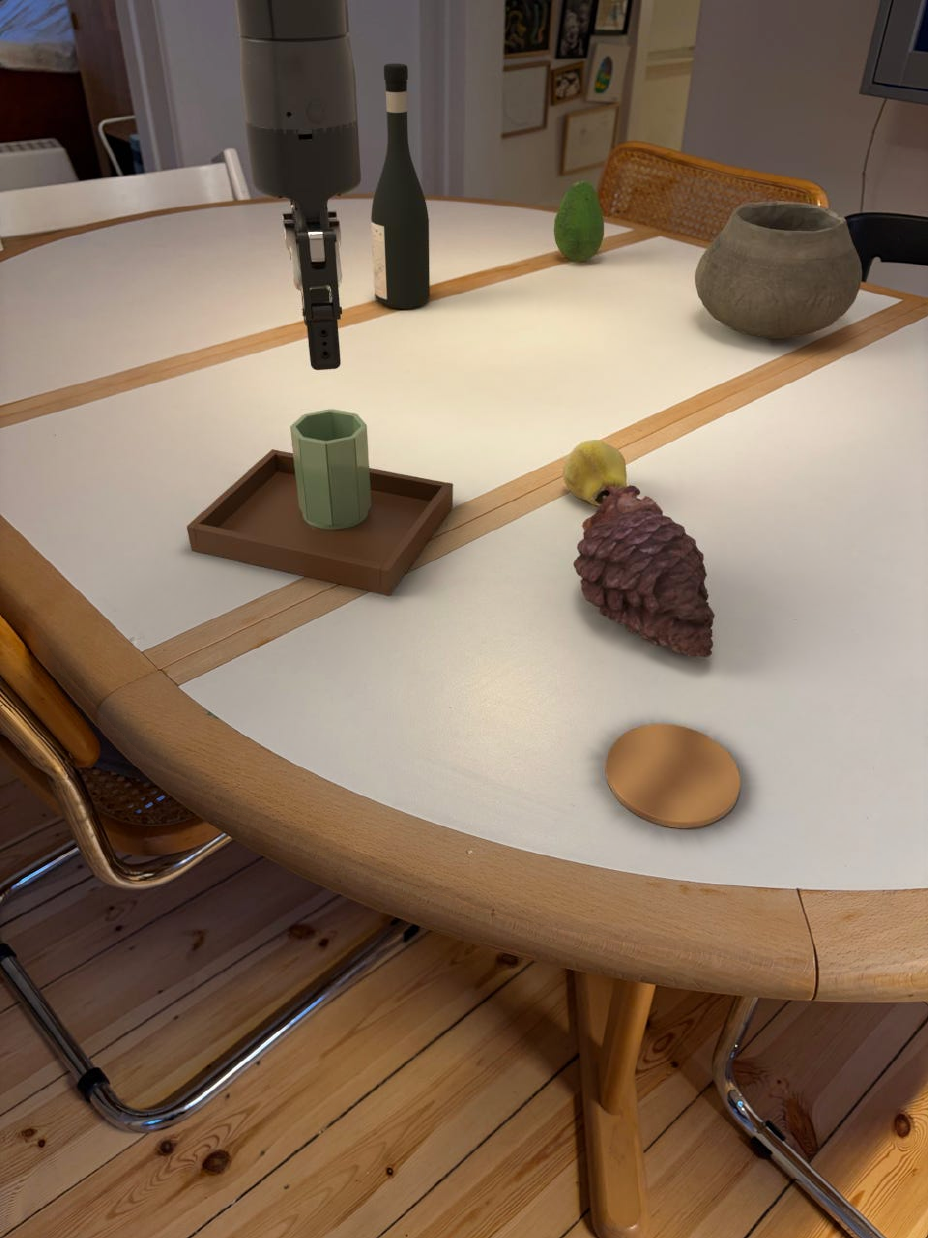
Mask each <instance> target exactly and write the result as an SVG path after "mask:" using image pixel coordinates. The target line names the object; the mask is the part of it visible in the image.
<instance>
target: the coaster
mask: <svg viewBox="0 0 928 1238" xmlns="http://www.w3.org/2000/svg"><path fill="white" fill-rule="evenodd" d="M740 775H741V774H740V771H739V769H738V767H737V764H736V762H735V760H734V759H733V757H732V756H731V754H730V753H729V752H728V751H727V750H726V749H725V748H724V747H723V746H722V745H721V744H720V743H718V742H717V741H716V740H715V739H713V738H711V737H710V736H708V735H706V734H704V733H703V732H700V731H697V730H696V729H693V728H689V727H686V726H681V725H677V724H668V723H654V724H653V723H651V724H647V725H642V726H641V725H640V726H638V727H635V728H632V729H630V730H628V731H627V732H625V733H623V734H621V736H619V737H617V739H616V740H615V741H614V742H613V744H612V745H611V746H610V748H609V751H608V753H607V756H606V760H605V777H606V781H607V784H608V786H609V788H610V790H611V792H612V794H613V795H614V796H615V798H616V799H617V800H618V801H619V802H620V803H621V804H622V806H624V807H625V808H626V809H627V810H629V811H630V812H632V813H633V814H635V815H636V816H638V817H640V818H641V819H644V820H646V821H648V822H651V823H654V824H657V825H660V826H665V827H668V828H678V829H693V828H699V827H704V826H707V825H710V824H713V823H715V822H717V821H719V820H720V819H722V818H724V817H725V816H726V815H727V814H728V813H729V812H730V811H731V810H732V809H733V808H734V806H735V804H736V802H737V800H738V797H739V794H740V790H741V776H740Z"/></svg>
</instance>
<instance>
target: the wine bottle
mask: <svg viewBox="0 0 928 1238" xmlns="http://www.w3.org/2000/svg"><path fill="white" fill-rule="evenodd" d="M408 69H409V68H408V66H407V64H404V63H386V64H384V66H383V80H384V83H385V84H384V85H385V102H386V105H385V106H386V126H387V127H386V129H387V142H386V143H387V145H386V153H385V157H384V162H383V165H382V169H381V173H380V176H379V178H378V182H377V185H376V187H375V190H374V191H375V192H374V195H373V200H372V205H371V216H370V217H371V218H370V224H371V243H372V244H371V245H372V246H371V247H372V263H373V264H372V266H373V285H374V297H375V300H376V301H377V302H378V303H379V304H381V305H382V306H384V307H387V308H391V309H397V310H406V309H407V310H409V309H414V308H417V307H420V306H422V305H424V304H425V303H426V302H427V301H428V300H429V298H430V296H431V295H430V294H431V292H430V288H431V286H430V284H431V282H430V278H431V277H430V219H429V211H428V206H427V201H426V197H425V195H424V191H423V189H422V186H421V183H420V180H419V177H418V175H417V171H416V169H415V166H414V163H413V161H412V157H411V152H410V148H409V146H410V145H409V137H408V80H409V74H408V73H409V71H408Z"/></svg>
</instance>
